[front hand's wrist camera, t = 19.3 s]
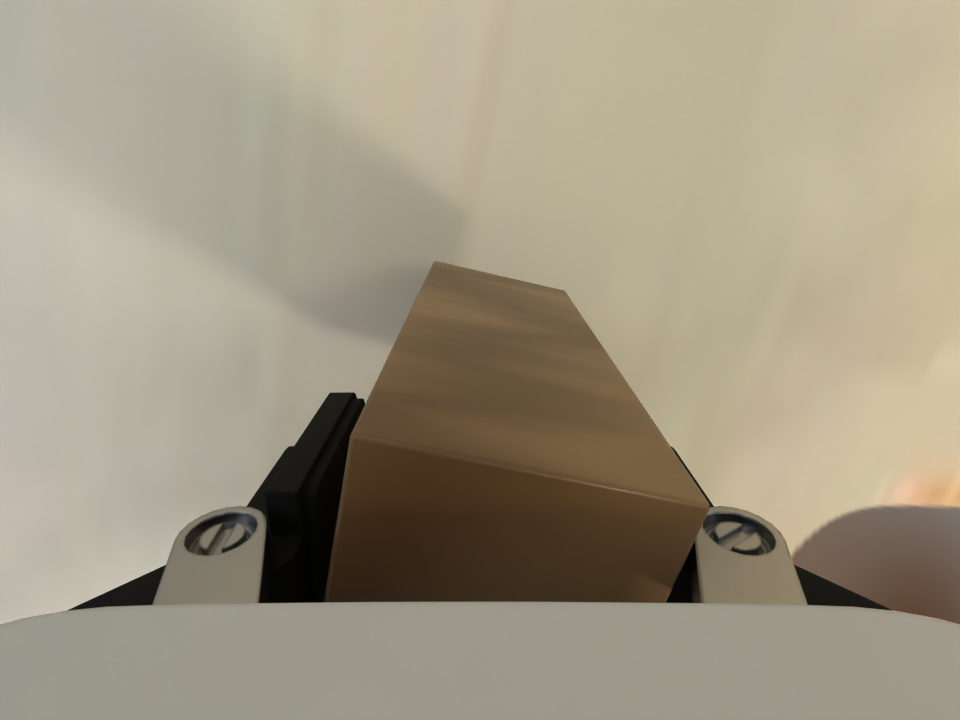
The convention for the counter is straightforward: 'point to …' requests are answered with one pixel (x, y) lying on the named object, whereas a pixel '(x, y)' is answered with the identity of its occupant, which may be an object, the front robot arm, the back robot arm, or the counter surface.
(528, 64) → the counter surface
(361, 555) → the block
